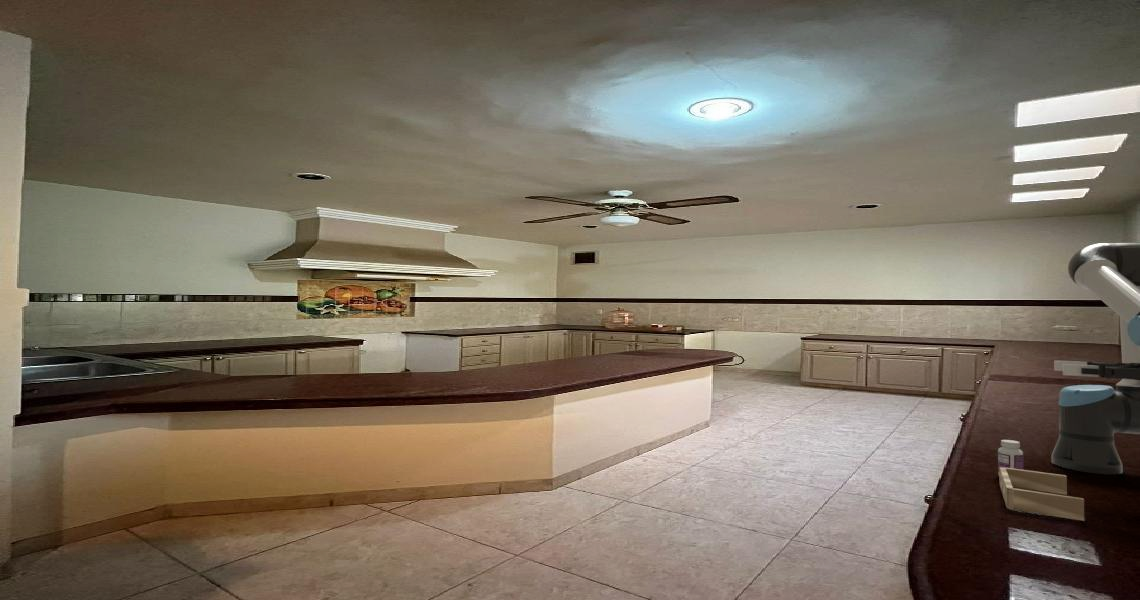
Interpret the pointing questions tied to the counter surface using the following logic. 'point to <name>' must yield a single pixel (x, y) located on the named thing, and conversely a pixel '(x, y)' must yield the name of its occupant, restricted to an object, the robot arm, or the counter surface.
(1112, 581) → the counter surface
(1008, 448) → the pill bottle
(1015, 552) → the counter surface
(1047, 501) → the wooden frame
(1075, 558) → the counter surface
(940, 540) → the counter surface
